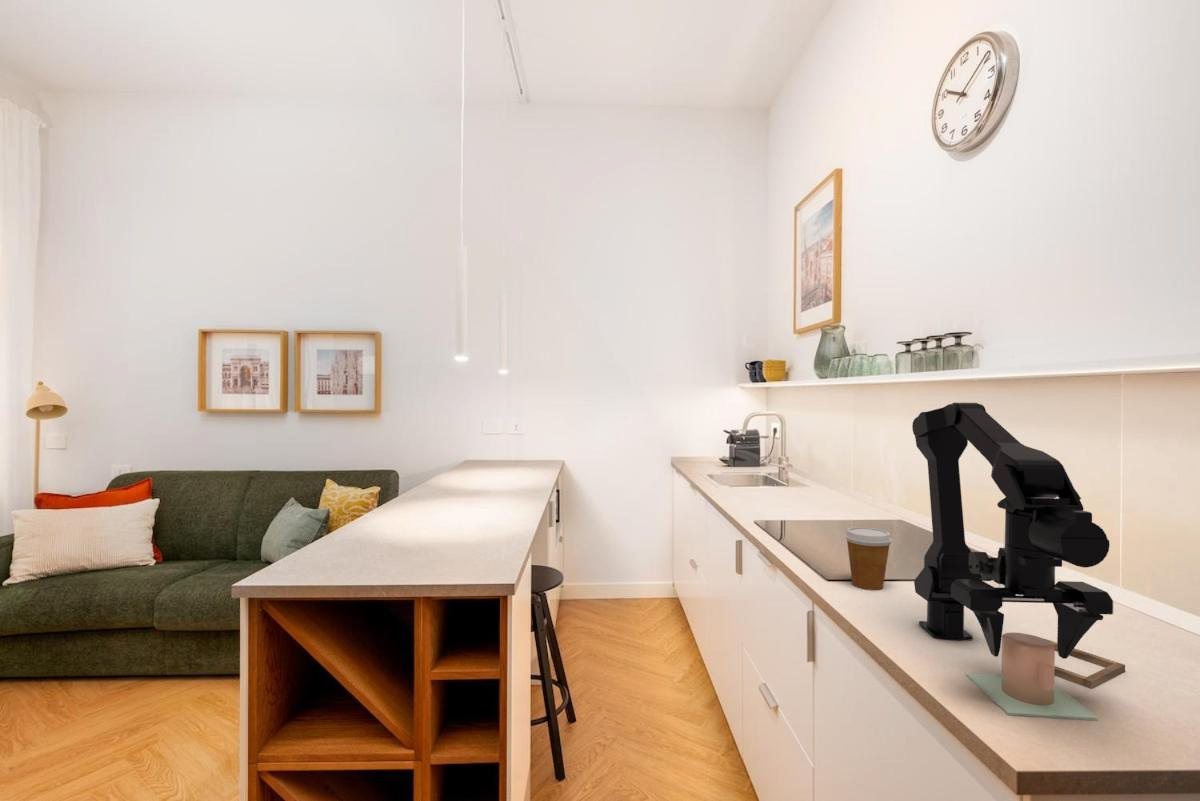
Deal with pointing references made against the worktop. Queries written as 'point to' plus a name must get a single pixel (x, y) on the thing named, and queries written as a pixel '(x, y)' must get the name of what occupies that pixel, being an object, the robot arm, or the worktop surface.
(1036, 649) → the peach round cylinder
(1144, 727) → the worktop surface
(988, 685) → the sage mat
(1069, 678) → the walnut collar
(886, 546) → the disposable coffee cup
